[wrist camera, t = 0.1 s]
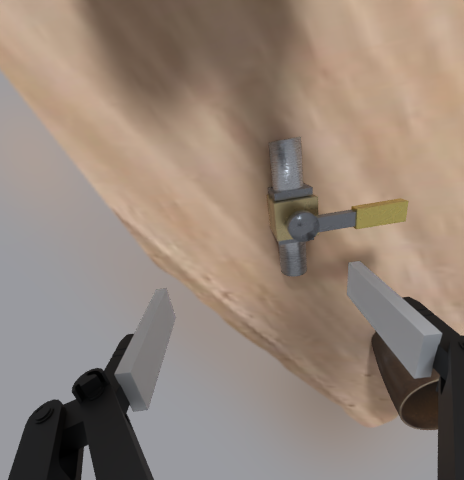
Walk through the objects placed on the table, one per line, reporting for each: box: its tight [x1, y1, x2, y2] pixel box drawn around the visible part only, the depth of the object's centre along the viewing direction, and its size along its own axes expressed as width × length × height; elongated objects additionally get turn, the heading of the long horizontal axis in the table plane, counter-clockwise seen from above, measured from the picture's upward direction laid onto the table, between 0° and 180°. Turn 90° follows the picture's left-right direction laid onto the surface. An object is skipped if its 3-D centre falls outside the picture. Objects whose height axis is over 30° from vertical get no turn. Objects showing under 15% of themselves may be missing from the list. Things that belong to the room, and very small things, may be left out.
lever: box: [287, 199, 408, 242], centre depth 33 cm, size 17×4×2 cm, turn 100°
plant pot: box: [372, 332, 440, 430], centre depth 49 cm, size 15×15×16 cm
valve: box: [267, 137, 319, 276], centre depth 39 cm, size 24×7×9 cm, turn 10°
